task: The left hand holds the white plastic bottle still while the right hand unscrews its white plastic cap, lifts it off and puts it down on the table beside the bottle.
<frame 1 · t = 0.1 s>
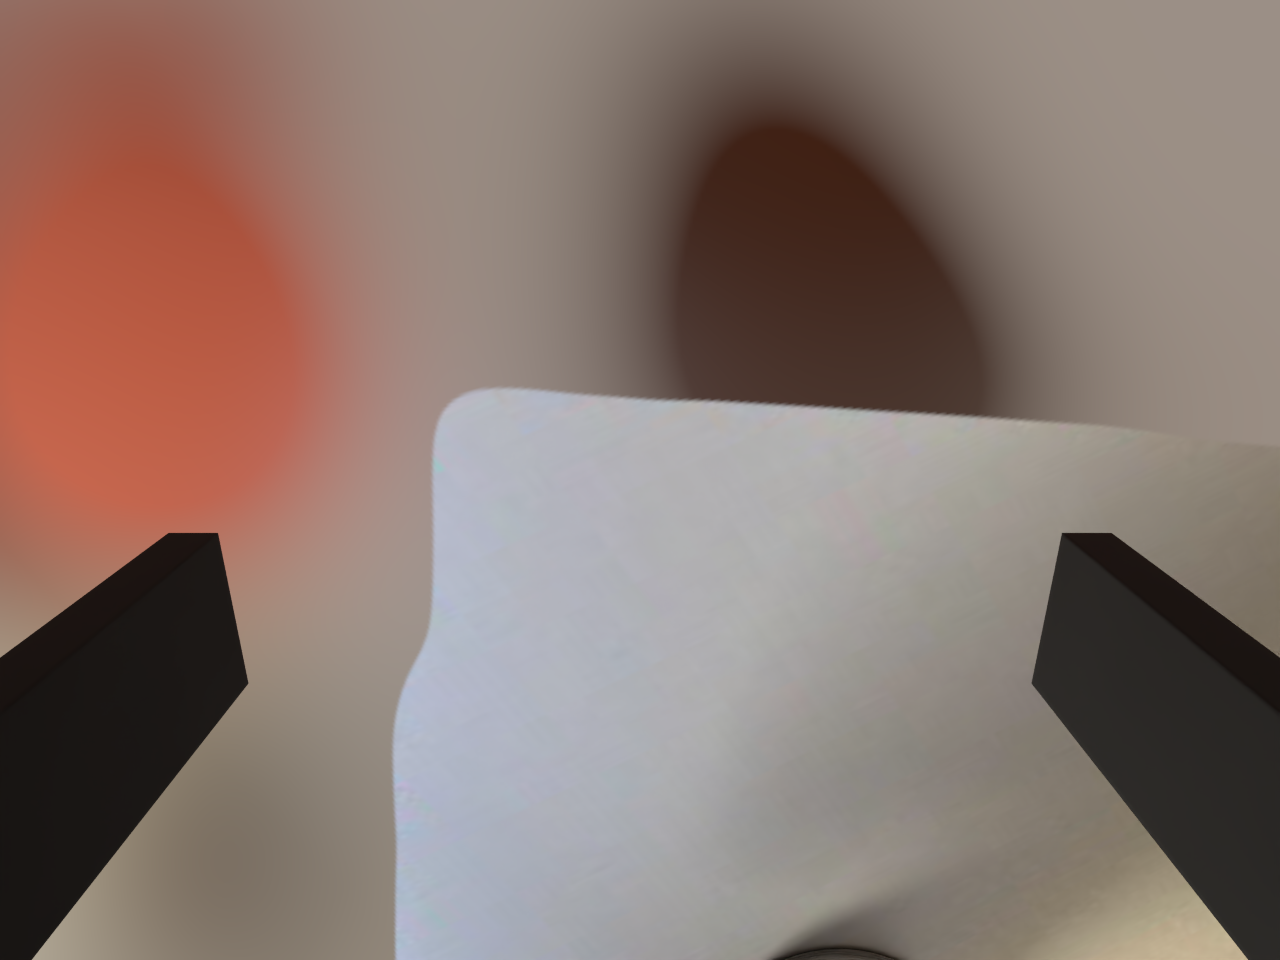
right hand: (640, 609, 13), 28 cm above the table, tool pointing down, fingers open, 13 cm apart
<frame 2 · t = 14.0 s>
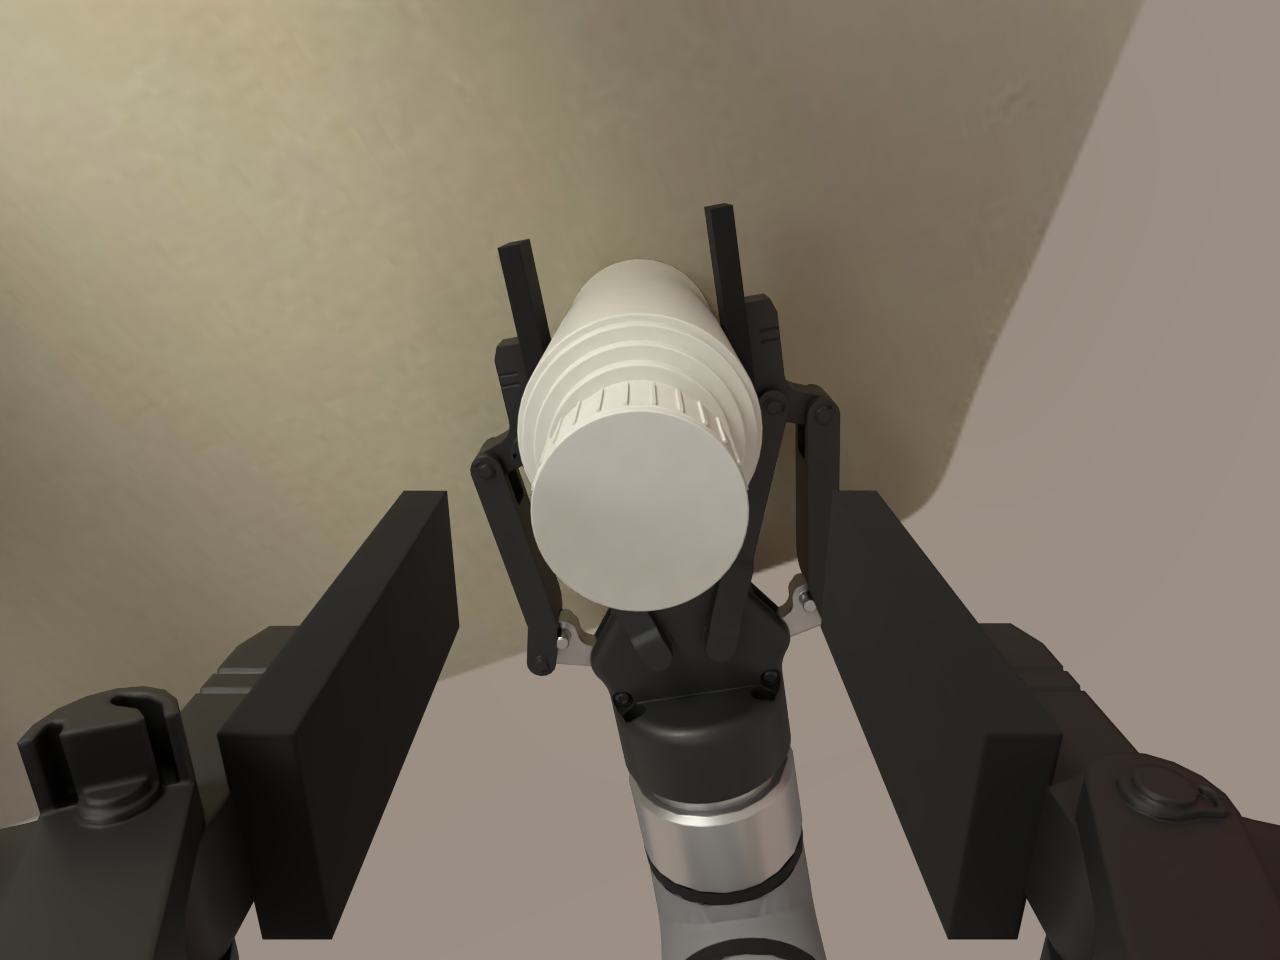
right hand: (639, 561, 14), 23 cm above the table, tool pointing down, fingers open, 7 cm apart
left hand: (615, 225, 28), fingers closed on bottle, 7 cm apart
cap: (639, 510, 16), point 21 cm above the table, screwed on, not yet turned
bottle: (639, 334, 36), on the table, touching left hand
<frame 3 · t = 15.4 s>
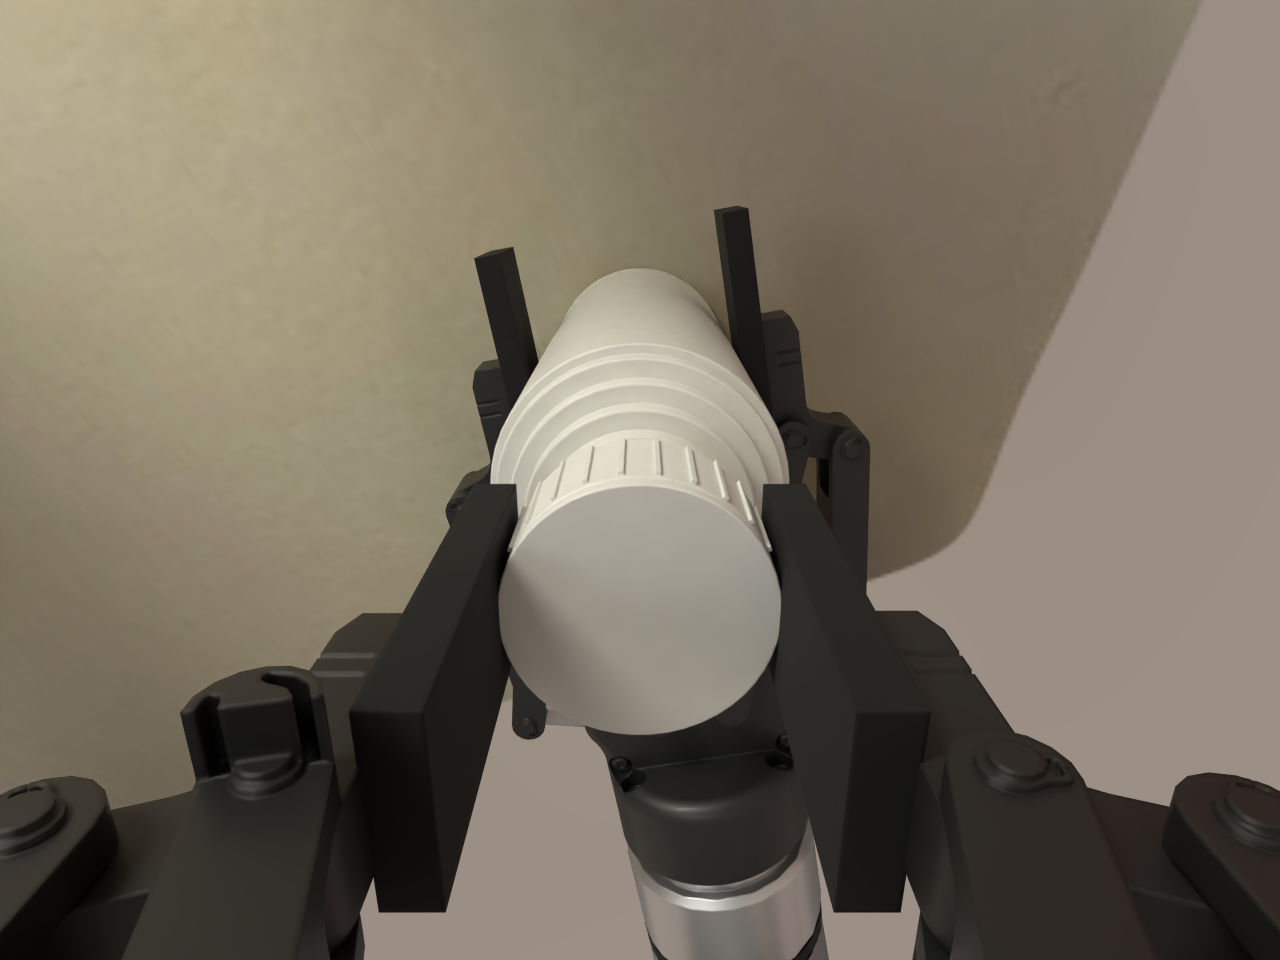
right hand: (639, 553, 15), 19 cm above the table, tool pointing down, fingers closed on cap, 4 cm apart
cap: (639, 608, 13), point 21 cm above the table, screwed on, not yet turned, touching right hand
bottle: (639, 352, 32), on the table, touching left hand
when the right hand's fingers open (2 cm above the table, at t = 32.0 s): cap drops 2 cm, point 2 cm above the table.
when the left hand's fingers open (6 cm above the table, at t = 33.2 s): bottle stays where it is, on the table.
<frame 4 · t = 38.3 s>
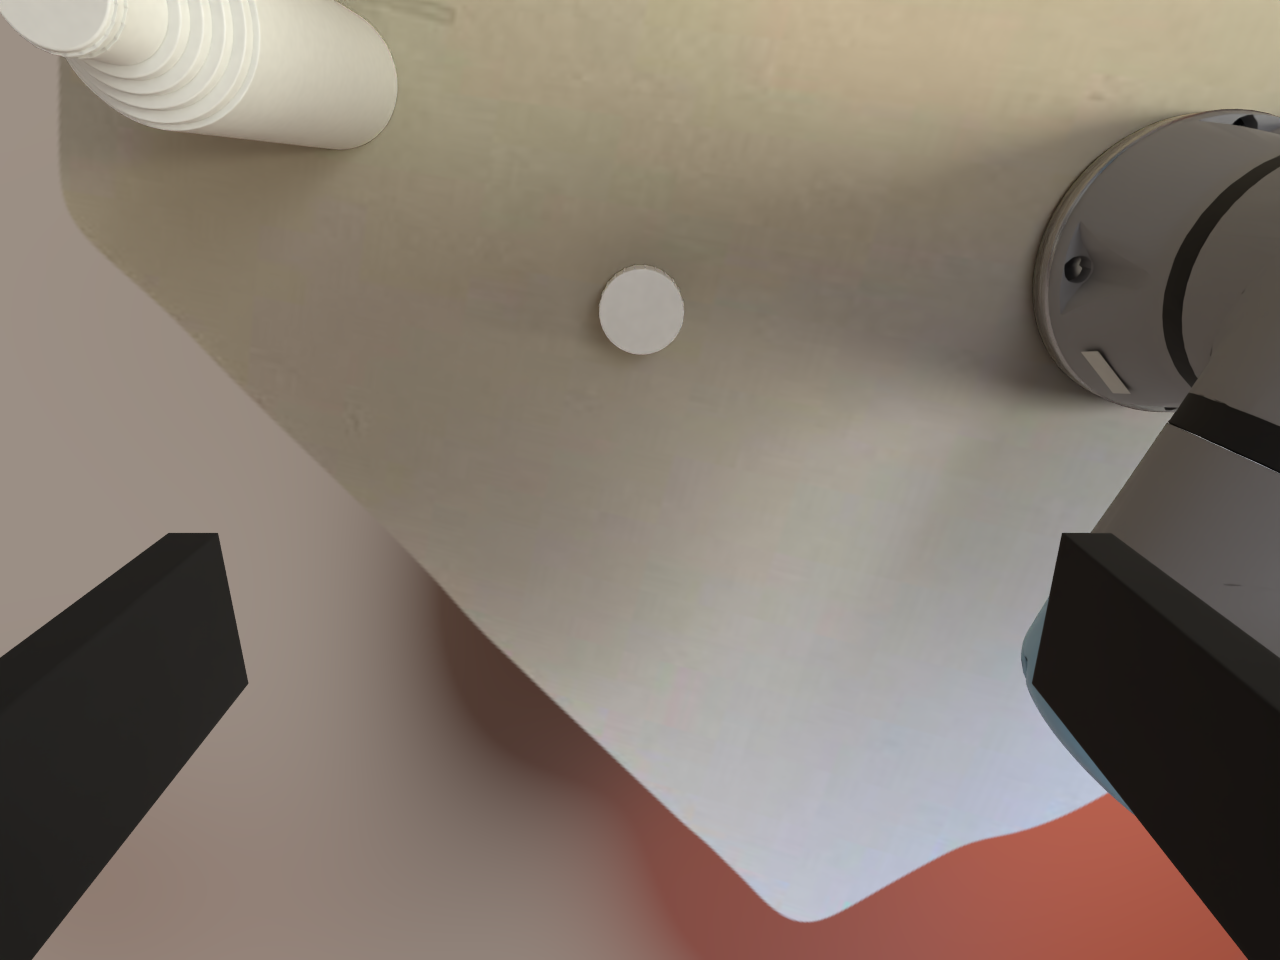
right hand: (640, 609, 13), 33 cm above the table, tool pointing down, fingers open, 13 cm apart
cap: (641, 311, 42), point 2 cm above the table, off its thread
bottle: (332, 79, 40), on the table
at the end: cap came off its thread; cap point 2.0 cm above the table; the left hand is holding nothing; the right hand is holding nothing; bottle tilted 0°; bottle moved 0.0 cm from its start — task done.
